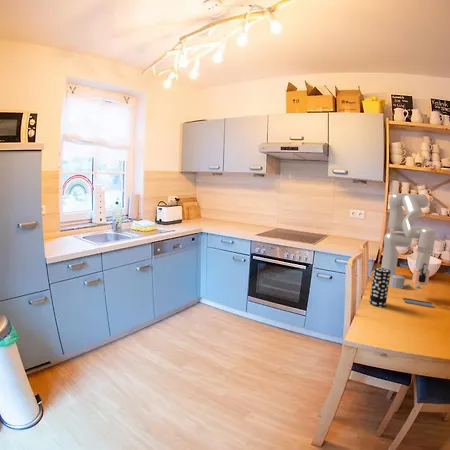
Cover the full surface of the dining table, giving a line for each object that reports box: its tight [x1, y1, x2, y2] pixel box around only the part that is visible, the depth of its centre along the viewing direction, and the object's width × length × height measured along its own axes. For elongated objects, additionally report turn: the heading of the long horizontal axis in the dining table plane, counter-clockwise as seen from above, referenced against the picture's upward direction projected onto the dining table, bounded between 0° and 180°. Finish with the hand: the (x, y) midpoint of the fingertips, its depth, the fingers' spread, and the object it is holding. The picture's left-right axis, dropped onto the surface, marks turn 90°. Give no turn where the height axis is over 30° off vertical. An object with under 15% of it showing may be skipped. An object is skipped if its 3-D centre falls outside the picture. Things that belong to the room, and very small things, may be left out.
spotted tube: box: [368, 267, 391, 308], centre depth 179 cm, size 8×8×20 cm
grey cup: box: [389, 274, 406, 289], centre depth 207 cm, size 8×8×8 cm
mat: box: [402, 297, 434, 309], centre depth 189 cm, size 14×16×1 cm
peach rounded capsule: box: [411, 267, 430, 286], centre depth 187 cm, size 8×8×8 cm
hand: (420, 279), depth 187 cm, fingers closed on peach rounded capsule, 7 cm apart
